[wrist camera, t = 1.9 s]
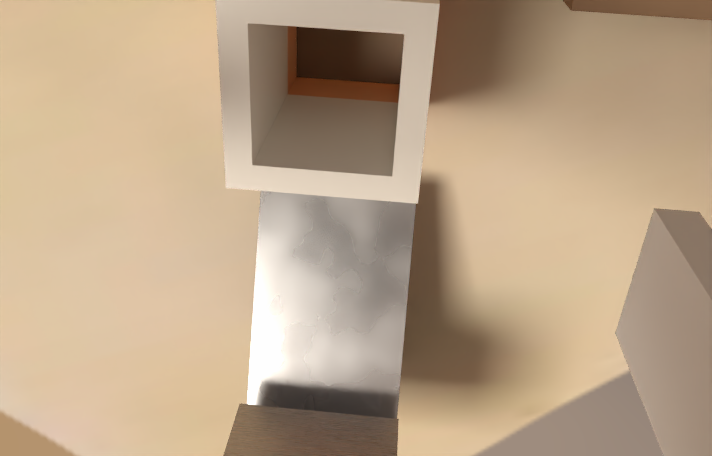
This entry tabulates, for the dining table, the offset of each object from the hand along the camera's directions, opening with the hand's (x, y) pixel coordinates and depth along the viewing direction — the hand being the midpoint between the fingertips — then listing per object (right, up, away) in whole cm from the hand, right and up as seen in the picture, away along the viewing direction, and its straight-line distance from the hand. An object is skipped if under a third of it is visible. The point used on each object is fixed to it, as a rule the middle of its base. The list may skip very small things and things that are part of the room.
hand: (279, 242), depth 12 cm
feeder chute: (+1, -2, +18) cm, 18 cm away
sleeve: (+1, +8, +13) cm, 15 cm away
